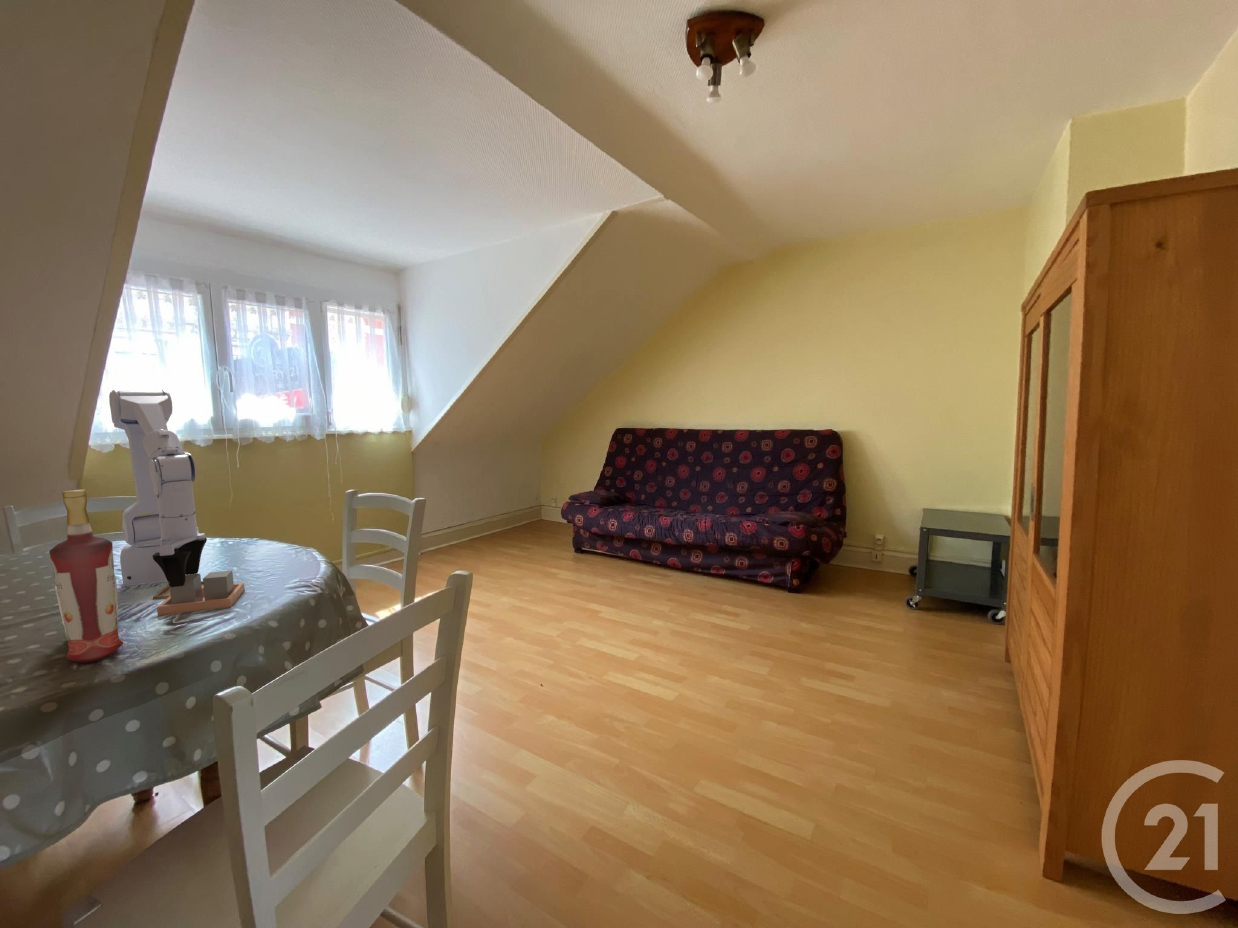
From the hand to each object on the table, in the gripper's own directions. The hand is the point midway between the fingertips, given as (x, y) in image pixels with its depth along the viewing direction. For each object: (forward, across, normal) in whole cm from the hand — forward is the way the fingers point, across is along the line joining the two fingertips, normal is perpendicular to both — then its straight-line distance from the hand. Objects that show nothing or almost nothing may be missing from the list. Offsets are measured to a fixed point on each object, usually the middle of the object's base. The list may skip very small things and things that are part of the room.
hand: (184, 579), depth 111 cm
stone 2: (+5, 0, -6) cm, 8 cm away
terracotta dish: (+6, 0, -3) cm, 6 cm away
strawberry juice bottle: (+6, -10, +11) cm, 16 cm away
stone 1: (+5, 0, 0) cm, 5 cm away
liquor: (+6, -21, +6) cm, 22 cm away
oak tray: (+6, +9, +2) cm, 11 cm away
